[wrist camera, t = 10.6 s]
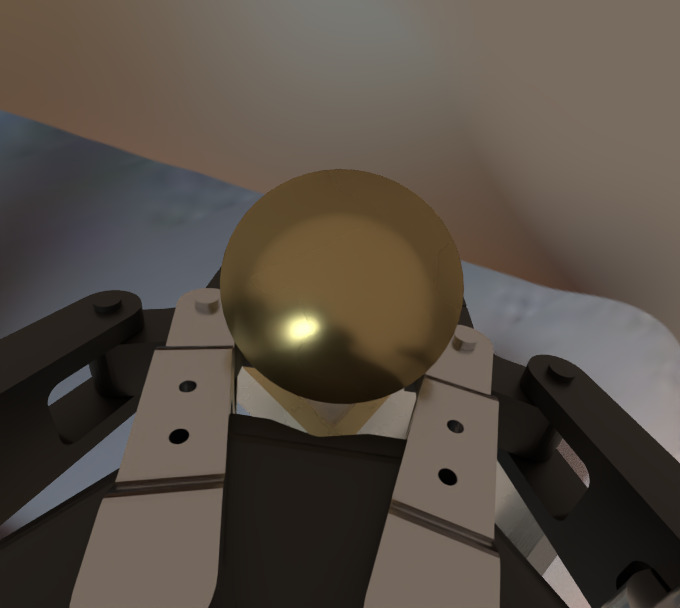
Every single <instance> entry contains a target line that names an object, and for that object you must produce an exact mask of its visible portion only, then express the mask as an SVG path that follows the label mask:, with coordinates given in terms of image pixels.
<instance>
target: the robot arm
mask: <svg viewBox="0 0 680 608" xmlns="http://www.w3.org/2000/svg"><path fill="white" fill-rule="evenodd" d="M221 267H222V266H221ZM221 267H220V270H218V272H217V273H216V274H215V276H214V277H213V279H212V280H211V281H210V283H209V284H208V285H207V287H206V288H203V289H197V290H193V291H190V292H188V293H186V294H184V295H183V296H181V297H180V299H179V300H178V302H177V305H176V308H168V309H148V310H143V309H142V303H141V300H140V298H139V297H138V296H137V295H135V294H133V293H131V292H127V291H120V290H111V291H103V292H98V293H95V294H92V295H89V296H87V297H85V298H83V299H81V300H79V301H77V302H75V303H73V304H71V305H69V306H67V307H65V308H63V309H61V310H58V311H56V312H54V313H52V314H50V315H48V316H46V317H44V318H42V319H40V320H38V321H36V322H34V323H32V324H30V325H28V326H26V327H24V328H22V329H20V330H18V331H16V332H14V333H12V334H10V335H8V336H6V337H4V338H2V339H0V525H2V524H3V523H4V522H5V521H6V520H8V519H9V518H10V517H11V516H12V515H13V514H15V513H16V512H17V511H18V510H19V509H21V508H22V507H23V506H24V505H25V504H27V503H28V502H29V501H30V500H31V499H33V498H34V497H35V496H36V495H37V494H39V493H40V492H41V491H42V490H43V489H45V488H46V487H47V486H48V485H49V484H51V483H52V482H53V481H54V480H55V479H56V478H58V477H59V476H60V475H61V474H62V473H64V472H65V471H66V470H67V469H68V468H70V467H71V466H72V465H73V464H74V463H76V462H77V461H78V460H79V459H80V458H82V457H83V456H84V455H85V454H86V453H88V452H89V451H90V450H91V449H92V448H94V447H95V446H96V445H97V444H98V443H100V442H101V441H102V440H103V439H104V438H105V437H107V436H108V435H109V434H110V433H111V432H113V431H114V430H115V429H116V428H117V427H119V426H120V425H121V424H122V423H123V422H125V421H126V420H127V419H128V418H129V417H131V416H132V415H133V414H134V413H135V412H136V415H135V418H134V422H133V425H132V428H131V432H130V435H129V438H128V442H127V445H126V449H125V452H124V455H123V459H122V462H121V465H120V468H119V469H117V470H115V471H114V472H112V473H111V474H109V475H107V476H106V477H104V478H102V479H101V480H99V481H97V482H96V483H94V484H92V485H91V486H89V487H87V488H86V489H84V490H82V491H81V492H79V493H77V494H76V495H74V496H73V497H71V498H69V499H68V500H66V501H64V502H63V503H61V504H59V505H58V506H56V507H54V508H53V509H51V510H49V511H48V512H46V513H44V514H43V515H41V516H39V517H38V518H36V519H35V520H33V521H31V522H30V523H28V524H26V525H25V526H23V527H21V528H20V529H18V530H16V531H15V532H13V533H11V534H10V535H8V536H6V537H5V538H3V539H1V540H0V608H569V607H568V606H567V604H566V603H565V602H564V601H563V600H562V599H561V598H560V596H559V595H558V594H557V593H556V592H555V591H554V590H553V588H552V587H551V586H550V585H549V584H548V583H547V582H546V581H545V579H544V578H543V577H542V576H541V575H540V574H539V573H538V571H537V570H536V569H535V568H534V567H533V566H532V565H531V563H530V562H529V561H528V560H527V559H526V558H525V557H524V555H523V554H522V553H521V552H520V551H519V550H518V549H517V547H516V546H515V545H514V544H513V543H512V542H511V541H510V539H509V538H508V537H507V536H506V535H505V534H504V533H503V531H502V530H501V529H500V528H499V527H498V526H497V525H496V523H495V495H496V467H497V461H498V462H499V464H500V465H501V467H502V468H503V470H504V472H505V473H506V475H507V476H508V478H509V479H510V481H511V482H512V484H513V486H514V487H515V489H516V490H517V492H518V493H519V495H520V497H521V498H522V500H523V501H524V503H525V504H526V506H527V508H528V509H529V511H530V512H531V514H532V515H533V517H534V518H535V520H536V522H537V523H538V525H539V526H540V528H541V529H542V531H543V533H544V534H545V536H546V537H547V539H548V540H549V542H550V543H551V545H552V547H553V548H554V550H555V551H556V553H557V554H558V556H559V558H560V559H561V561H562V562H563V564H564V565H565V567H566V568H567V570H568V572H569V573H570V575H571V576H572V578H573V579H574V581H575V583H576V584H577V586H578V587H579V589H580V590H581V592H582V593H583V595H584V597H585V598H586V600H587V601H588V603H589V604H590V606H591V608H680V463H679V462H678V461H677V460H676V459H675V458H674V457H673V456H672V455H671V454H670V453H669V452H667V451H666V450H665V449H664V448H663V447H662V446H661V445H660V444H659V443H658V442H657V441H656V440H655V439H654V438H653V437H652V436H651V435H650V434H649V433H648V432H647V431H645V430H644V429H643V428H642V427H641V426H640V425H639V424H638V423H637V422H636V421H635V420H634V419H633V418H632V417H631V416H630V415H629V414H628V413H627V412H626V411H624V410H623V409H622V408H621V407H620V406H619V405H618V404H617V403H616V402H615V401H614V400H613V399H612V398H611V397H610V396H609V395H608V394H607V393H606V392H605V391H604V390H602V389H601V388H600V387H599V386H598V385H597V384H596V383H595V382H594V381H593V380H592V379H591V378H590V377H589V376H588V375H587V374H586V373H585V372H584V371H582V370H581V369H580V368H579V367H577V366H576V365H574V364H572V363H571V362H569V361H567V360H564V359H562V358H559V357H556V356H551V355H536V356H534V357H532V358H531V359H530V360H529V362H528V364H527V366H526V367H525V366H522V365H519V364H516V363H513V362H511V361H508V360H505V359H503V358H500V357H498V356H496V355H494V354H493V345H492V343H491V341H490V340H489V339H488V338H487V337H486V336H485V335H484V334H482V333H481V332H479V331H477V330H475V329H474V327H473V324H472V321H471V318H470V315H469V312H468V309H467V307H466V303H465V300H464V297H463V304H462V309H461V314H460V318H459V322H458V324H457V327H456V330H455V332H454V335H453V337H452V339H451V340H450V342H449V344H448V346H447V348H446V349H445V351H444V352H443V353H442V355H441V356H440V358H439V359H438V360H437V362H436V363H435V364H434V365H433V366H432V367H431V368H430V369H429V370H428V371H427V372H426V373H425V374H424V375H422V376H421V377H420V378H418V379H417V380H416V381H414V382H413V383H412V384H410V385H408V386H407V387H405V388H404V391H407V392H414V393H416V401H415V404H414V407H413V410H412V414H411V418H410V421H409V425H408V428H407V432H406V435H405V439H400V438H393V437H386V436H380V435H373V434H355V435H340V436H324V437H319V436H314V435H311V434H308V433H305V432H303V431H300V430H298V429H295V428H292V427H290V426H287V425H284V424H282V423H279V422H277V421H274V420H271V419H267V418H260V417H253V416H247V415H240V414H237V389H238V375H239V373H240V370H241V368H242V366H243V367H250V368H254V367H253V366H252V364H251V363H250V362H249V361H248V360H247V359H246V358H245V357H244V355H243V354H242V352H241V351H240V349H239V348H238V346H237V345H236V343H235V341H234V339H233V337H232V335H231V333H230V331H229V329H228V326H227V323H226V320H225V317H224V314H223V309H222V304H221V297H220V276H221ZM87 364H89V368H90V371H91V375H92V377H91V378H90V379H88V380H87V381H85V382H84V383H82V384H81V385H79V386H78V387H76V388H75V389H73V390H72V391H70V392H69V393H67V394H66V395H65V396H63V397H62V398H60V399H59V400H57V401H56V402H54V403H53V404H51V405H50V406H48V397H49V395H50V393H51V391H52V390H53V388H54V387H55V386H56V385H57V384H58V383H60V382H61V381H63V380H64V379H66V378H67V377H69V376H70V375H72V374H73V373H75V372H77V371H78V370H80V369H81V368H83V367H84V366H86V365H87ZM562 438H563V439H564V440H565V441H566V442H567V443H568V445H569V446H570V447H571V448H572V449H573V451H574V452H575V453H576V454H577V455H578V457H579V458H580V459H581V460H582V462H583V463H584V464H585V466H586V468H587V470H588V473H589V478H590V483H589V487H588V488H587V487H586V485H585V484H584V483H583V482H582V480H581V479H580V478H579V477H578V475H577V474H576V473H575V472H574V470H573V469H572V468H571V466H570V465H569V464H568V463H567V461H566V460H565V459H564V458H563V456H562V455H561V454H560V453H559V451H558V450H557V449H556V448H557V447H558V445H559V443H560V442H561V440H562Z"/></svg>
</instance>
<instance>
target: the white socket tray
mask: <svg viewBox="0 0 680 608" xmlns="http://www.w3.org/2000/svg"><path fill="white" fill-rule="evenodd" d="M415 401H416V393H414V392H407V391H404V388H403V389H401V390H400V391H398V392H396V393H393V394H391V395H388V396H386V397H383V398H380V399H376V400H372V401H368V402H363V403H354V404H330V403H324V402H318V401H313V400H310V399H306V398H303V397H300V396H297V395H295V394H293V393H290V392H288V391H286V390H284V389H282V388H280V387H279V386H277V385H276V384H274V383H273V382H271V381H269V380H268V379H267V378H266V377H264V376H263V375H262V374H261V373H260V372H258V371H257V370H256V369H255V368H250V367H243V366H242V368H241V370H240V373H239V375H238V389H237V402H238V403H239V404H240V405H241V406H242V407H243V408H244V409H245V410H246V411H247V412H248V413H249V414H250V415H251V416H253V417H260V418H267V419H271V420H274V421H277V422H279V423H282V424H284V425H287V426H290V427H292V428H295V429H298V430H300V431H303V432H305V433H308V434H311V435H314V436H319V437H324V436H340V435H355V434H373V435H380V436H386V437H393V438H400V439H405V435H406V432H407V428H408V425H409V421H410V418H411V414H412V410H413V407H414V404H415ZM587 488H588V487H587ZM495 523H496V525H497V526H498V527H499V528H500V529H501V530H502V531H503V533H504V534H505V535H506V536H507V537H508V538H509V539H510V541H511V542H512V543H513V544H514V545H515V546H516V547H517V549H518V550H519V551H520V552H521V553H522V554H523V555H524V557H525V558H526V559H527V560H528V561H529V562H530V563H531V565H532V566H533V567H534V568H535V569H536V570H537V571H538V573H539V574H540V575H541V576H542V575H543V574H544V573H545V571H546V570H547V568H548V567H549V566H550V564H551V563H552V562H553V560H554V559H555V557H556V556H557V555H558V554H557V553H556V551H555V550H554V548H553V547H552V545H551V543H550V542H549V540H548V539H547V537H546V536H545V534H544V533H543V531H542V529H541V528H540V526H539V525H538V523H537V522H536V520H535V518H534V517H533V515H532V514H531V512H530V511H529V509H528V508H527V506H526V504H525V503H524V501H523V500H522V498H521V497H520V495H519V493H518V492H517V490H516V489H515V487H514V486H513V484H512V482H511V481H510V479H509V478H508V476H507V475H506V473H505V472H504V470H503V468H502V467H501V465H500V464H499V462H498V461H497V467H496V495H495Z"/></svg>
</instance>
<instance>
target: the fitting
mask: <svg viewBox="0 0 680 608" xmlns="http://www.w3.org/2000/svg"><path fill="white" fill-rule="evenodd" d="M463 293H464V285H463V272H462V266H461V261H460V258H459V254H458V251H457V248H456V245H455V243H454V241H453V239H452V237H451V235H450V233H449V231H448V229H447V228H446V226H445V225H444V223H443V222H442V220H441V219H440V217H439V216H438V215H437V214H436V213H435V211H434V210H433V209H432V208H431V207H430V206H429V205H428V204H427V203H426V202H425V201H424V200H423V199H421V198H420V197H419V196H418V195H416V194H415V193H413V192H412V191H410V190H409V189H408V188H406V187H404V186H402V185H400V184H399V183H397V182H395V181H393V180H390V179H387V178H385V177H383V176H380V175H376V174H372V173H369V172H364V171H358V170H345V169H344V170H343V169H334V170H323V171H318V172H313V173H308V174H305V175H302V176H299V177H296V178H293V179H291V180H289V181H287V182H285V183H283V184H281V185H279V186H277V187H276V188H274V189H273V190H271V191H270V192H268V193H267V194H266V195H264V196H263V197H262V198H261V199H259V200H258V201H257V202H256V203H255V204H254V205H253V206H252V207H251V208H250V209H249V210H248V211H247V213H246V214H245V215H244V217H243V218H242V219H241V221H240V222H239V223H238V225H237V227H236V228H235V230H234V232H233V234H232V236H231V238H230V240H229V243H228V245H227V248H226V251H225V254H224V258H223V262H222V267H221V276H220V297H221V304H222V309H223V314H224V317H225V320H226V323H227V326H228V329H229V331H230V333H231V335H232V337H233V339H234V341H235V343H236V345H237V346H238V348H239V349H240V351H241V352H242V354H243V355H244V357H245V358H246V359H247V360H248V361H249V362H250V363H251V364H252V366H253V367H254V368H255V369H256V370H257V371H258V372H260V373H261V374H262V375H263V376H264V377H266V378H267V379H268V380H269V381H271V382H273V383H274V384H276V385H277V386H279V387H280V388H282V389H284V390H286V391H288V392H290V393H293V394H295V395H297V396H300V397H303V398H306V399H310V400H313V401H318V402H324V403H330V404H354V403H363V402H368V401H372V400H376V399H380V398H383V397H386V396H388V395H391V394H393V393H396V392H398V391H400V390H401V389H403V388H405V387H407V386H408V385H410V384H412V383H413V382H414V381H416V380H417V379H418V378H420V377H421V376H422V375H424V374H425V373H426V372H427V371H428V370H429V369H430V368H431V367H432V366H433V365H434V364H435V363H436V362H437V360H438V359H439V358H440V356H441V355H442V353H443V352H444V351H445V349H446V348H447V346H448V344H449V342H450V340H451V339H452V337H453V335H454V332H455V330H456V327H457V324H458V322H459V318H460V314H461V309H462V304H463Z"/></svg>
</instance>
